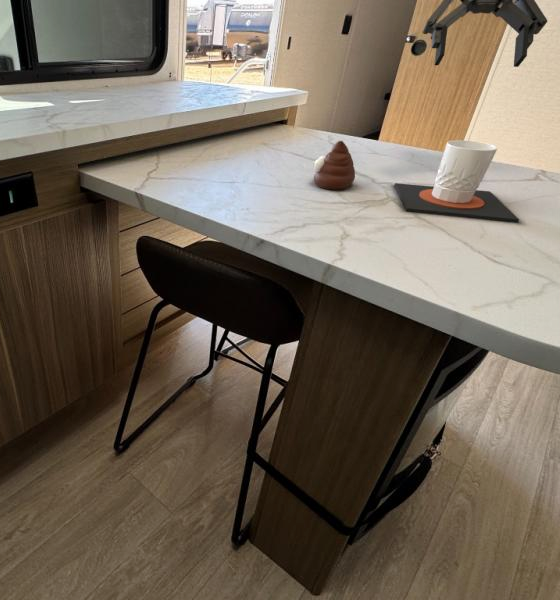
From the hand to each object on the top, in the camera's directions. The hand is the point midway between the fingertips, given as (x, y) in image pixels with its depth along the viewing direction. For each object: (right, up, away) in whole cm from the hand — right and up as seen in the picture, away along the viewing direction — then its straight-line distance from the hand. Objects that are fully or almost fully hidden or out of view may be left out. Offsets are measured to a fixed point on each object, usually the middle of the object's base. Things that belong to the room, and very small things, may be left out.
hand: (478, 61), depth 80 cm
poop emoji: (-24, -21, +12) cm, 34 cm away
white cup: (-4, -26, +2) cm, 27 cm away
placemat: (-4, -27, +2) cm, 27 cm away
